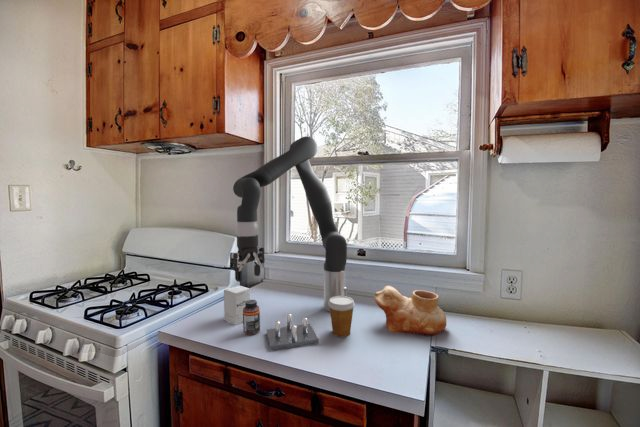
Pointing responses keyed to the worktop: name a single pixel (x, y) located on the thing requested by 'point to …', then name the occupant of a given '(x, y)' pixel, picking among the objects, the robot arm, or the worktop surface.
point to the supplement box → (235, 303)
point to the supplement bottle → (251, 317)
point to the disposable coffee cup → (341, 314)
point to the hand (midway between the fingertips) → (248, 278)
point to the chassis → (291, 335)
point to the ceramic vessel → (411, 312)
